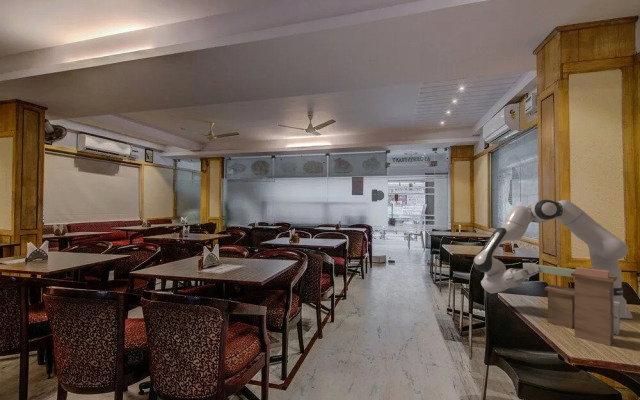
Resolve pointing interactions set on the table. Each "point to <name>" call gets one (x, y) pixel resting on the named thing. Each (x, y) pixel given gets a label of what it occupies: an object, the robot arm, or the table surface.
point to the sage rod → (553, 270)
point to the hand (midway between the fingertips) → (540, 267)
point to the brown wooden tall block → (594, 308)
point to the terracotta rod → (592, 272)
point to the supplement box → (616, 317)
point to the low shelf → (561, 305)
